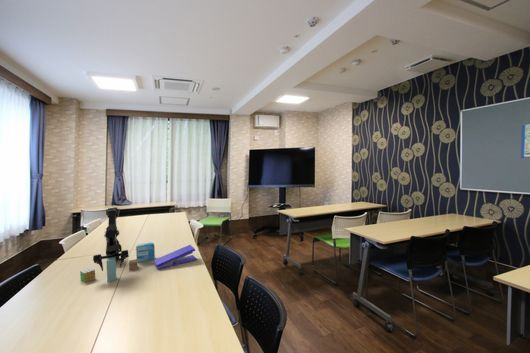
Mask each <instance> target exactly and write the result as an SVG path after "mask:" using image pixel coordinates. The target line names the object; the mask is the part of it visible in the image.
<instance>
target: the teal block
mask: <svg viewBox="0 0 530 353" xmlns="http://www.w3.org/2000/svg"><path fill="white" fill-rule="evenodd" d="M106 278H107V282H113V281H116V280H117V261H116V257H112V258H107V259H106Z"/></svg>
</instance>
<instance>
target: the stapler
mask: <svg viewBox="0 0 530 353" xmlns="http://www.w3.org/2000/svg"><path fill="white" fill-rule="evenodd" d="M195 251H196V249H195V247H194V246H193V245H192V244H187V245H185V246H183V247H181V248H179V249H176V250H174V251H171V252H169V253H166V254H165V255H162V256H160V257H157V258H154V259H153V261H154V267H155V268H156V269H157V270H158V271H159V270H163V269H167V268H171V267H175V266H179V265H183V264H184V265H185V264H188V263H192V262H196V260H197V261H198V258H197V257H196V256H194V255H193V253H194V252H195ZM191 254H192V255H191Z"/></svg>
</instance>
